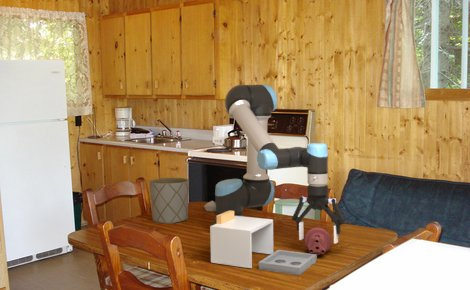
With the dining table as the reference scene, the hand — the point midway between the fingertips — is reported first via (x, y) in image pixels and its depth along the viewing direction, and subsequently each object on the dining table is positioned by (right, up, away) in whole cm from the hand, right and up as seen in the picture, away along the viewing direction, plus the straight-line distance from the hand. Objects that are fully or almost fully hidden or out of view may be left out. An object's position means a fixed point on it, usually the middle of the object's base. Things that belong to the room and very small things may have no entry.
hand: (318, 240), depth 202 cm
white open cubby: (-28, -6, -3) cm, 29 cm away
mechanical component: (0, -5, +1) cm, 6 cm away
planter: (-63, -1, +61) cm, 88 cm away
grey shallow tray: (-12, -6, -12) cm, 18 cm away
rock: (-37, +1, +82) cm, 90 cm away
